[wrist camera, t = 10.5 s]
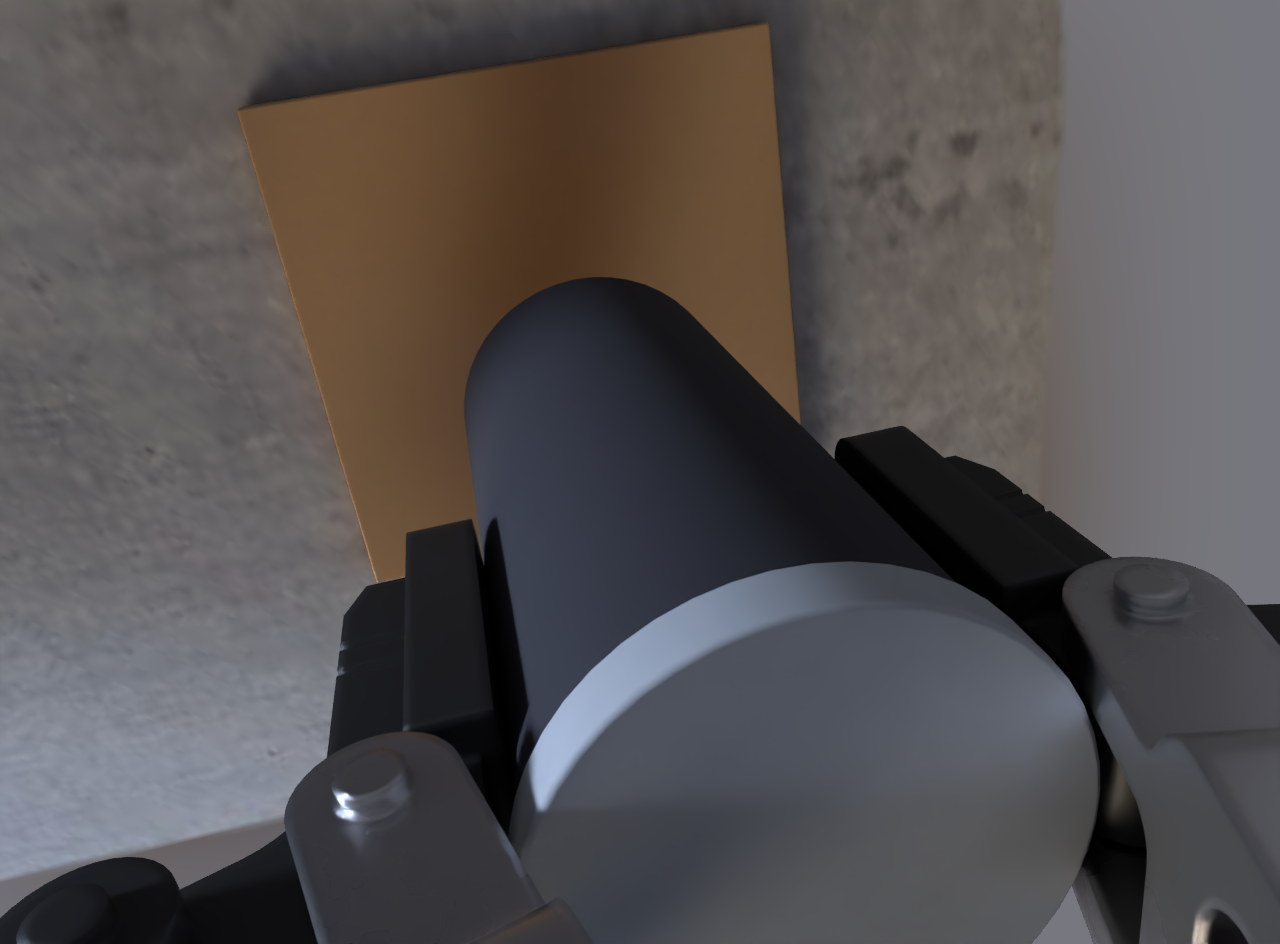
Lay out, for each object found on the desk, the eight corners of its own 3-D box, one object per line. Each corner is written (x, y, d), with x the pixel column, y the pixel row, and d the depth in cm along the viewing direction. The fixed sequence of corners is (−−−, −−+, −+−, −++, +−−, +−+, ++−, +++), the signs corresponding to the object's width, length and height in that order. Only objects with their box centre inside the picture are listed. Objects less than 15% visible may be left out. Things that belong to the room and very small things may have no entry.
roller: (713, 245, 16) (1122, 536, 7) (740, 498, 17) (1089, 994, 8) (428, 299, 15) (452, 696, 6) (488, 554, 17) (574, 1148, 8)
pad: (762, 22, 20) (770, 21, 19) (799, 479, 24) (806, 487, 23) (239, 106, 18) (235, 108, 18) (377, 572, 23) (376, 584, 22)
